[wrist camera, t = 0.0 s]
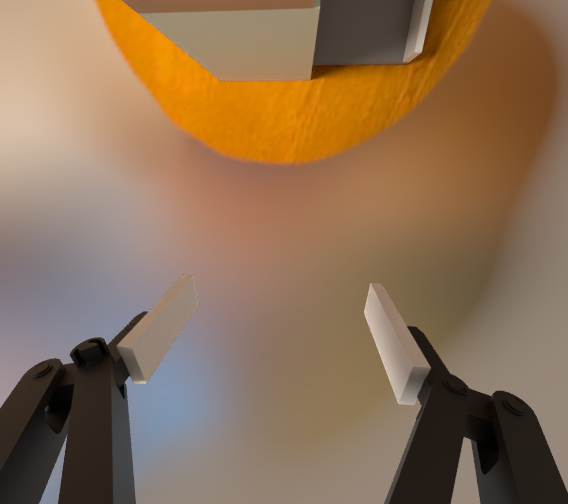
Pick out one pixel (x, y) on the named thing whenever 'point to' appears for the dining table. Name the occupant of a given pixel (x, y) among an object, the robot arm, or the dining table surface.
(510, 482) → the robot arm
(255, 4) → the beige open box
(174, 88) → the dining table surface
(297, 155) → the dining table surface
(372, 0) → the tray
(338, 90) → the dining table surface
